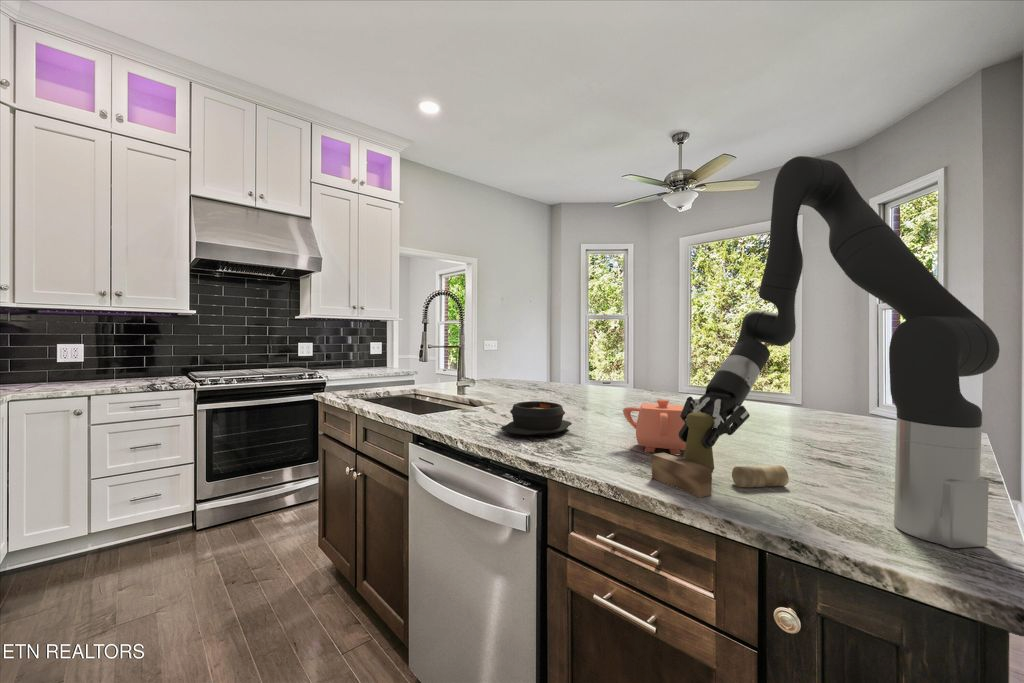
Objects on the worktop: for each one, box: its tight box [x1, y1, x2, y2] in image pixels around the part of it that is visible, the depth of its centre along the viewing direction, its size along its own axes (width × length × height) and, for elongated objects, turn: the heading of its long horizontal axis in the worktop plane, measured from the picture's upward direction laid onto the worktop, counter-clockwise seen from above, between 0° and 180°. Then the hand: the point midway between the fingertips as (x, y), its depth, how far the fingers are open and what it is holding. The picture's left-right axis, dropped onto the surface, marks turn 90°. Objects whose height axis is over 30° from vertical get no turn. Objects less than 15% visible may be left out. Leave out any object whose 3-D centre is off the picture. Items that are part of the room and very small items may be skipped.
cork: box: [682, 412, 715, 471], centre depth 88 cm, size 6×6×11 cm
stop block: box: [651, 452, 714, 498], centre depth 85 cm, size 12×3×5 cm, turn 27°
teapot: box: [622, 399, 686, 455], centre depth 113 cm, size 17×16×13 cm
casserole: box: [500, 400, 573, 436], centre depth 132 cm, size 25×19×8 cm
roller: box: [731, 464, 790, 488], centre depth 86 cm, size 9×4×4 cm, turn 97°
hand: (693, 442), depth 87 cm, fingers closed on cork, 5 cm apart
